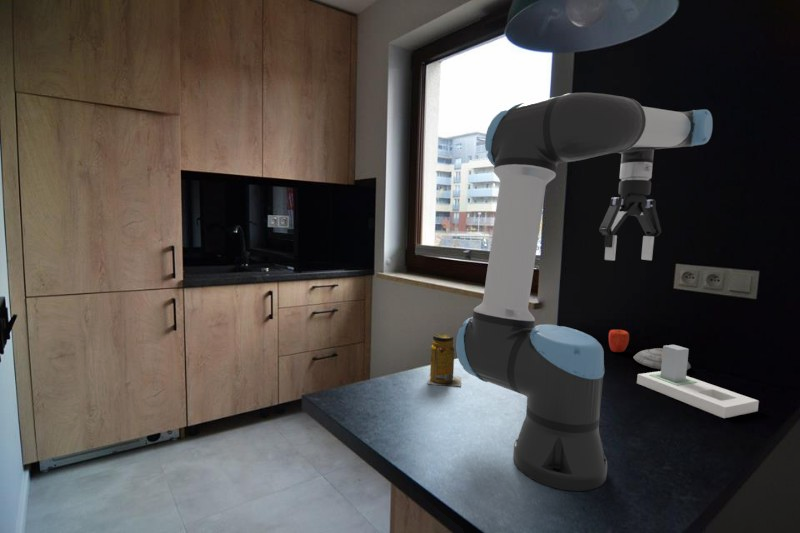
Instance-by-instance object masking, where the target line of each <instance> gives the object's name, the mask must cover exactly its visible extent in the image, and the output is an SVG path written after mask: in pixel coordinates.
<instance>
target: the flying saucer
mask: <svg viewBox="0 0 800 533" xmlns="http://www.w3.org/2000/svg"><path fill="white" fill-rule="evenodd" d="M662 350H663V347H662V348H660V347H659V348H658V347H657V348H650V349H644V350H640V351H639V352H637V353H636V354H635V355H634V356H633V359H634V360H635V361H636V363H638V364H641V365H643V366H645V367H649V368H652V369H655V370H660V371H661V365H662ZM691 368H692V366H691V364H690V363H689V361H688V362H687V371H688V370H690V369H691Z"/></svg>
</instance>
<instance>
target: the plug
mask: <svg viewBox="0 0 800 533" xmlns="http://www.w3.org/2000/svg"><path fill="white" fill-rule="evenodd" d="M662 349H663V350H662V365H661V370H660V371H661V375H660V378H663V379H666V380H669V381H671V382H674V383H680V382H685V381H686V376H687V372H688V370H687V362H688V363H689V361H688V360H689V359H688V358H689V350H690V349H689V348H687V347H683V346H680V345H676V344H669V345H667V344H666V345H663V347H662Z"/></svg>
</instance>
